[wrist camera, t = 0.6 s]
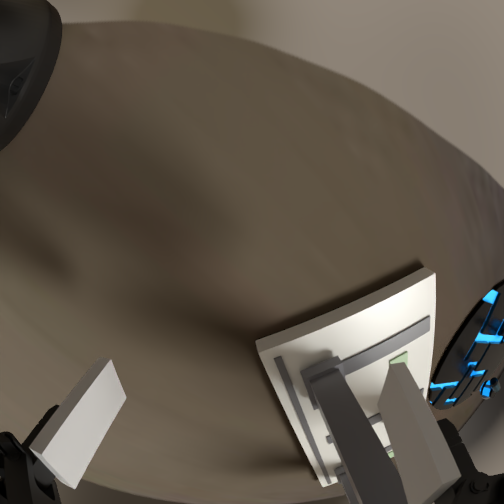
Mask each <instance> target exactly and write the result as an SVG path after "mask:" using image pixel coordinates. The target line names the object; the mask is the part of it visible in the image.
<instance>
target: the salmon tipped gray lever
mask: <svg viewBox="0 0 504 504" xmlns="http://www.w3.org/2000/svg"><path fill="white" fill-rule="evenodd" d="M334 472H335V475H336V478H337V480H338V483H339V484H341V483H342V485H343V488H344V490H345V493H346V495H347V497H348V500H349V502H350V504H359V502H358V500H357V498H356V495H355V493H354V491H353V488H352V486H351V484H350V481H349V479H348V477H347V474H346V472H345V470H344V467H340V468H338V469H335V470H334Z"/></svg>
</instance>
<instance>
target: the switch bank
mask: <svg viewBox="0 0 504 504" xmlns="http://www.w3.org/2000/svg"><path fill="white" fill-rule="evenodd" d="M435 305H436V277H435V273H434V272H433V271H431V270H429V269H427V268H426V267H423V268H421V269H419V270H417V271H415V272H414V273H412V274H410V275H408V276H406V277H404V278H402V279H400V280H398V281H396V282H394V283H392V284H390V285H388V286H386V287H384V288H381V289H379V290H377V291H375V292H373V293H371V294H369V295H367V296H364V297H362V298H360V299H358V300H356V301H353V302H351V303H349V304H347V305H344V306H342V307H340V308H337V309H335V310H333V311H330V312H328V313H326V314H323V315H321V316H318V317H316V318H314V319H311V320H309V321H306V322H304V323H301V324H299V325H296V326H293V327H291V328H288V329H286V330H283V331H280V332H278V333H275V334H272V335H270V336H267V337H264V338H261V339H258V340H256V341H255V342H256V346H257V351H258V354H259V356H260V358H261V361H262V363H263V365H264V367H265V369H266V372H267V374H268V376H269V378H270V380H271V382H272V385H273V387H274V389H275V391H276V393H277V395H278V397H279V400H280V402H281V404H282V406H283V408H284V410H285V412H286V414H287V416H288V418H289V421H290V423H291V425H292V427H293V429H294V431H295V433H296V435H297V437H298V439H299V441H300V443H301V445H302V447H303V449H304V451H305V453H306V455H307V457H308V459H309V461H310V463H311V465H312V467H313V469H314V471H315V473H316V475H317V477H318V479H319V481H320V483H321V484H322V486H323V487H325V486H328V485H331V484H334V483H336V482H338V480H337V478H336V475H335V472H334V470H335V469H338V468H340V467H343V465H342V462H341V460H340V458H339V455H338V453H337V451H336V448H335V446H334V444H333V441H332V439H331V437H330V434H329V432H328V430H327V427H326V425H325V423H324V420H323V418H322V416H321V413H320V411H319V409H316V410H313V407H312V405H311V402H310V399H309V396H308V393H307V391H306V388H305V385H304V382H303V379H302V376H301V373H300V371H301V370H303V369H306V368H309V367H311V366H314V365H316V364H319V363H321V362H323V361H326V360H328V359H330V358H333V357H335V356H337V355H338V357H339V358H340V360H341V361H342V363H343V368H344V373H345V379H346V382H347V384H348V386H349V387H350V389H351V391H352V393H353V394H354V396H355V398H356V399H357V401H358V403H359V405H360V406H361V408H362V410H363V411H364V413H365V415H366V417H367V418H368V420H369V422H370V424H371V425H372V427H373V429H374V431H375V432H376V434H377V436H378V438H379V439H380V441H381V443H382V445H383V446H384V448H385V450H386V452H387V453H388V455H389V457H390V458H391V457H393V456H394V453H393V450H392V447H391V444H390V441H389V438H388V435H387V432H386V429H385V426H384V423H383V420H382V417H381V414H380V411H379V408H378V406H377V404H378V401H379V398H380V395H381V392H382V389H383V386H384V382H385V379H386V376H387V372H388V369H389V366H390V364H394V363H401V362H405V364H406V366H407V367H408V369H409V371H410V373H411V374H412V376H413V378H414V380H415V382H416V383H417V385H418V387H419V389H420V391H421V393H422V395H423V396H424V398H425V400H426V396H427V390H428V384H429V377H430V370H431V362H432V353H433V342H434V329H435Z"/></svg>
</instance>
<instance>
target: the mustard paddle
mask: <svg viewBox="0 0 504 504" xmlns="http://www.w3.org/2000/svg"><path fill="white" fill-rule="evenodd" d="M300 373H301V376H302V379H303V382H304V385H305V388H306V391H307V393H308V396H309V399H310V402H311V405H312V407H313V410H316V409H319V411H320V413H321V416H322V418H323V420H324V423H325V425H326V427H327V430H328V432H329V434H330V437H331V439H332V441H333V444H334V446H335V448H336V451H337V453H338V455H339V458H340V460H341V462H342V465H343V467H344V470H345V472H346V474H347V477H348V479H349V481H350V484H351V486H352V488H353V491H354V493H355V495H356V498H357V500H358V502H359V504H408V502H407V498H406V494H405V491H404V487H403V483H402V480H401V477H400V475H399V473H398V471H397V469H396V468H395V466H394V464H393V462H392V461H391V459H390V457H389V455H388V453H387V452H386V450H385V448H384V446H383V445H382V443H381V441H380V439H379V438H378V436H377V434H376V432H375V431H374V429H373V427H372V425H371V424H370V422H369V420H368V418H367V417H366V415H365V413H364V411H363V410H362V408H361V406H360V405H359V403H358V401H357V399H356V398H355V396H354V394H353V393H352V391H351V389H350V387H349V386H348V384H347V382H346V379H345V373H344V368H343V363H342V361H341V360H340V358H339V357H338V355H337V356H335V357H333V358H330V359H328V360H326V361H323V362H321V363H319V364H316V365H314V366H311V367H309V368H306V369H303V370H301V371H300Z"/></svg>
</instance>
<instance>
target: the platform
mask: <svg viewBox="0 0 504 504" xmlns="http://www.w3.org/2000/svg"><path fill="white" fill-rule="evenodd" d="M503 359H504V281H503V282H501V283H500V284H498V285H497V286H495V287H494V288H493V289H492V290H491V291H490V292H489V293H487V294H486V296H485V297H484V298H483V299H482V300H481V301H480V302H479V303H478V304H477V306H476V307H475V308H474V310H473V311H472V312H471V313H470V315H469V316H468V317H467V319H466V320H465V322H464V323H463V324H462V326H461V327H460V329H459V330H458V332H457V333H456V335H455V336H454V338H453V340H452V341H451V343H450V345H449V346H448V348H447V349H446V351H445V353H444V355H443V357H442V359H441V361H440V363H439V365H438V367H437V369H436V372H435V374H434V376H433V379H432V382H431V386H430V392H429V398H430V402H431V403H432V405H433V406H434V407H435V408H436V409H440V410H443V409H449V408H451V407H452V405H453V407H454V406H456V405H458V404H460V403H462V402H463V401H465V400H466V399H467V398H469V397H470V396H471V395H472V394H471V393H472V392H473V391H474V392H475V391H477V390H478V389H479V388H480V387H481V388H480V394H481V395H482V397H483V398H485V399H488V398H493V397H494V396H495V394H496V393H497V392H499V390H500V384H499V382H498V379H496V378H492V379H491V380H490V381H487V380H488V379H489V378H490V376H491V375H492V374H493V373H494V372H495V370H496V369H497V367H498V366H499V365H500V363H501V362H502V360H503Z"/></svg>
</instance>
